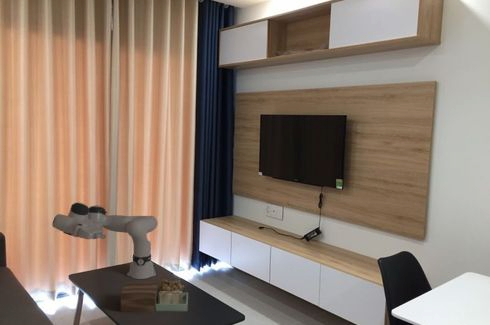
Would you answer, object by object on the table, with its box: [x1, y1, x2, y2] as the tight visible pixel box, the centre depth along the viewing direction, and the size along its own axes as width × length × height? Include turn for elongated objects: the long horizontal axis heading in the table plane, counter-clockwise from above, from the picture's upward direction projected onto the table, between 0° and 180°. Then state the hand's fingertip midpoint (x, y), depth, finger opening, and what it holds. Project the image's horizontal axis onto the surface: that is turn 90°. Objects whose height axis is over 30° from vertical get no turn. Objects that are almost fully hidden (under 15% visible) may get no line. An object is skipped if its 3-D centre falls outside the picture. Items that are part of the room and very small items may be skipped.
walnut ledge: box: [120, 282, 159, 313], centre depth 233 cm, size 16×18×10 cm
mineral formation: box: [158, 279, 185, 293], centre depth 251 cm, size 8×13×15 cm
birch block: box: [160, 290, 183, 304], centre depth 237 cm, size 5×6×12 cm
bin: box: [155, 292, 189, 313], centre depth 236 cm, size 16×17×4 cm
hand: (104, 237), depth 231 cm, fingers closed
